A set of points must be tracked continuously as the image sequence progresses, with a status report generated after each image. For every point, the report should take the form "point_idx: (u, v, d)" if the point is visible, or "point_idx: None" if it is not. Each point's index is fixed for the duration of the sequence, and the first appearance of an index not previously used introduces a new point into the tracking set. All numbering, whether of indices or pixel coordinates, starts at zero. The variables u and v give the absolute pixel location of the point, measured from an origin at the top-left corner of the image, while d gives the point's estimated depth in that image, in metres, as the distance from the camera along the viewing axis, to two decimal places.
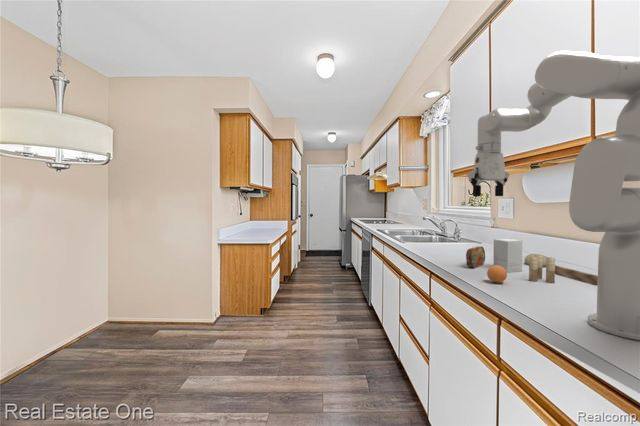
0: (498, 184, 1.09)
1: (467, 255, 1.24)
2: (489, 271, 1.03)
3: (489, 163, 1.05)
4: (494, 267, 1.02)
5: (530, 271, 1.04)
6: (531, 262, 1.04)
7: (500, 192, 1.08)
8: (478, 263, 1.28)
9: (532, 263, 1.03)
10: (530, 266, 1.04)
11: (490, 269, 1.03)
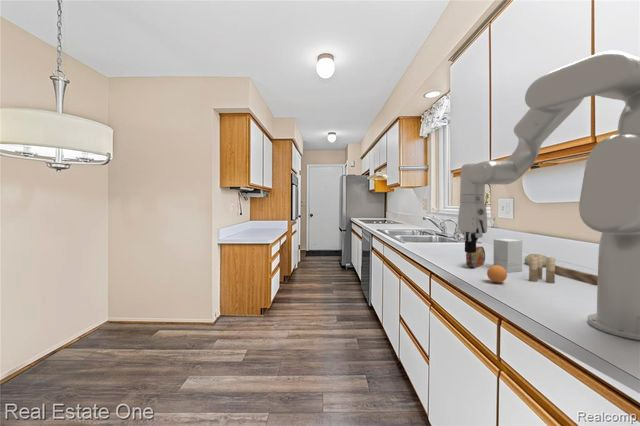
0: None
1: (467, 255, 1.24)
2: (489, 271, 1.03)
3: None
4: (494, 267, 1.02)
5: (530, 271, 1.04)
6: (531, 262, 1.04)
7: None
8: (478, 263, 1.28)
9: (532, 263, 1.03)
10: (530, 266, 1.04)
11: (490, 269, 1.03)
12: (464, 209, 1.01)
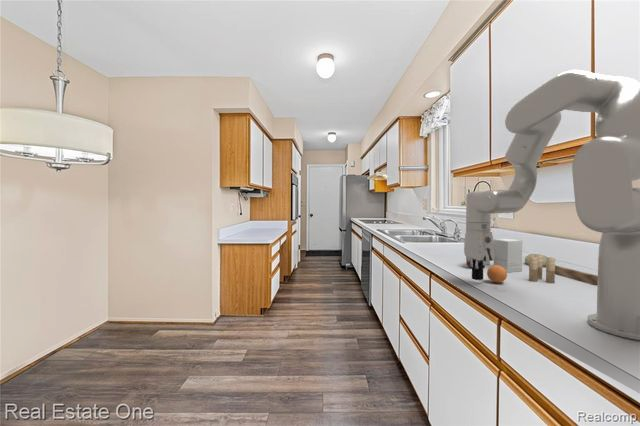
0: None
1: None
2: (489, 271, 1.03)
3: None
4: (494, 267, 1.02)
5: (530, 271, 1.04)
6: (531, 262, 1.04)
7: None
8: None
9: (532, 263, 1.03)
10: (530, 266, 1.04)
11: (490, 269, 1.03)
12: (470, 237, 1.01)
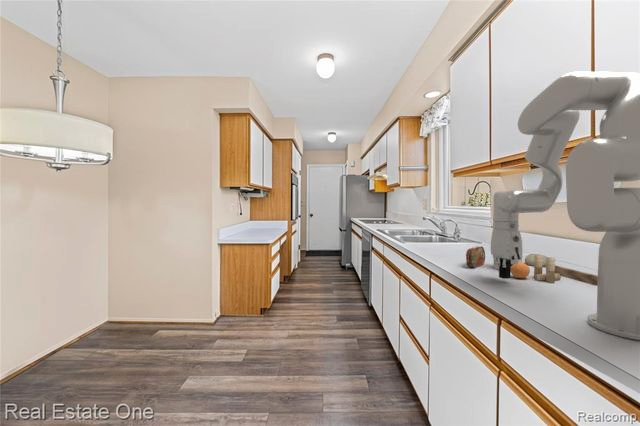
0: (503, 263, 1.03)
1: (467, 255, 1.24)
2: None
3: None
4: (524, 276, 1.06)
5: (545, 274, 1.05)
6: None
7: None
8: (478, 263, 1.28)
9: None
10: None
11: None
12: (498, 236, 1.02)
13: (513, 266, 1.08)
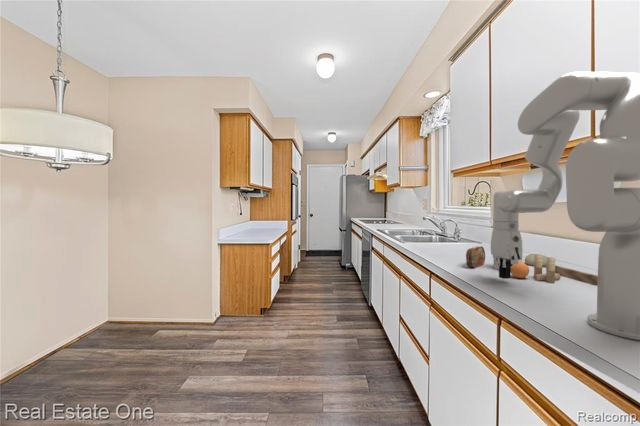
0: (503, 263, 1.03)
1: (467, 255, 1.24)
2: (525, 276, 1.07)
3: None
4: (524, 275, 1.06)
5: None
6: None
7: None
8: (478, 263, 1.28)
9: None
10: None
11: (524, 276, 1.07)
12: (498, 236, 1.02)
13: (512, 265, 1.08)
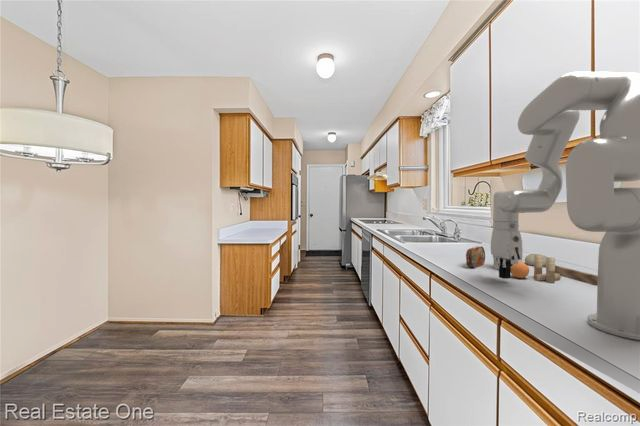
0: (503, 263, 1.03)
1: (467, 255, 1.24)
2: (525, 276, 1.07)
3: None
4: (524, 275, 1.06)
5: (545, 274, 1.05)
6: None
7: None
8: (478, 263, 1.28)
9: None
10: None
11: (524, 276, 1.07)
12: (498, 236, 1.02)
13: (512, 265, 1.08)
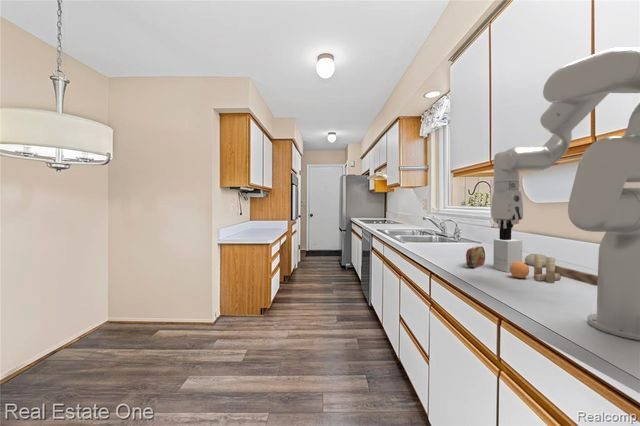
0: None
1: (467, 255, 1.24)
2: (525, 276, 1.07)
3: None
4: (524, 275, 1.06)
5: (545, 274, 1.05)
6: None
7: None
8: (478, 263, 1.28)
9: None
10: None
11: (524, 276, 1.07)
12: (498, 197, 1.02)
13: (512, 265, 1.08)
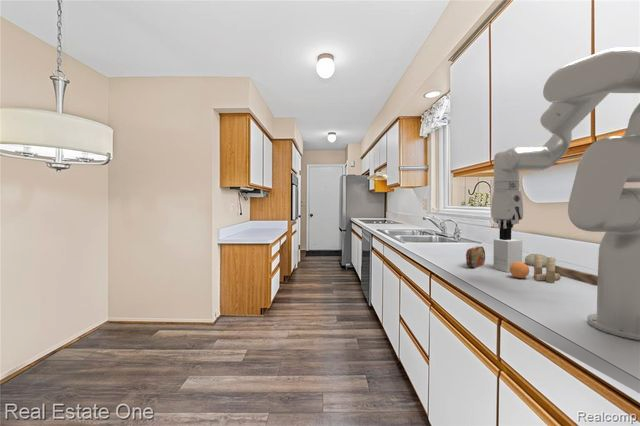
0: None
1: (467, 255, 1.24)
2: (525, 276, 1.07)
3: None
4: (524, 275, 1.06)
5: None
6: None
7: None
8: (478, 263, 1.28)
9: None
10: None
11: (524, 276, 1.07)
12: (498, 197, 1.02)
13: (512, 265, 1.08)
